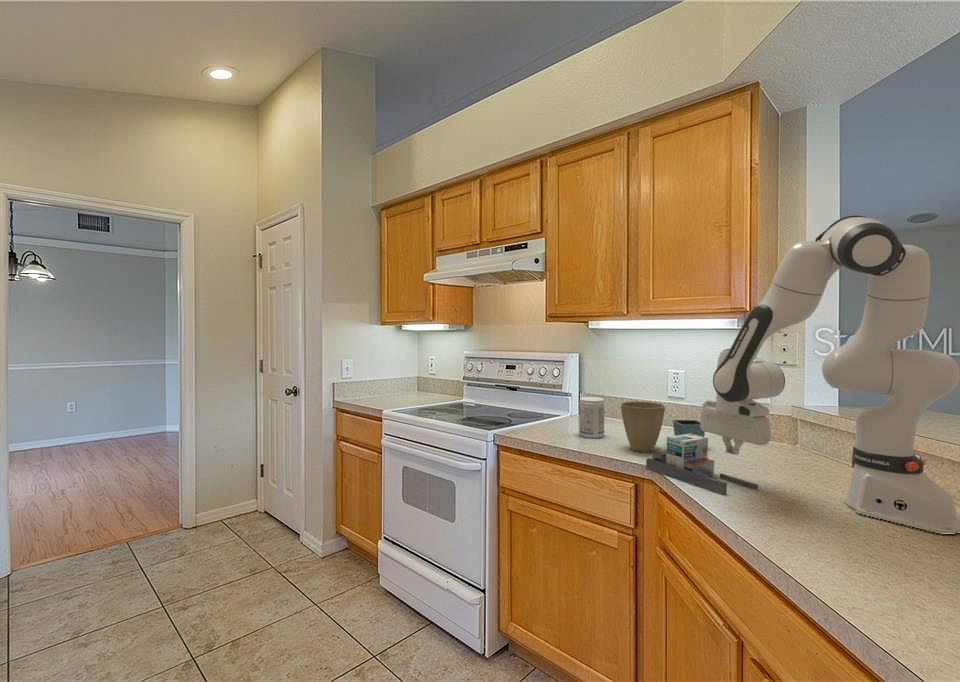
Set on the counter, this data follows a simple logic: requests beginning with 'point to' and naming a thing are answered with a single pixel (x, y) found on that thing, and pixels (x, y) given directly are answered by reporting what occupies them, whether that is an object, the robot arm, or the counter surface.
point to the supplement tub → (591, 417)
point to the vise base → (692, 475)
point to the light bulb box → (685, 449)
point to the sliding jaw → (701, 466)
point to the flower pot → (687, 427)
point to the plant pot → (642, 424)
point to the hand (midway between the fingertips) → (732, 453)
